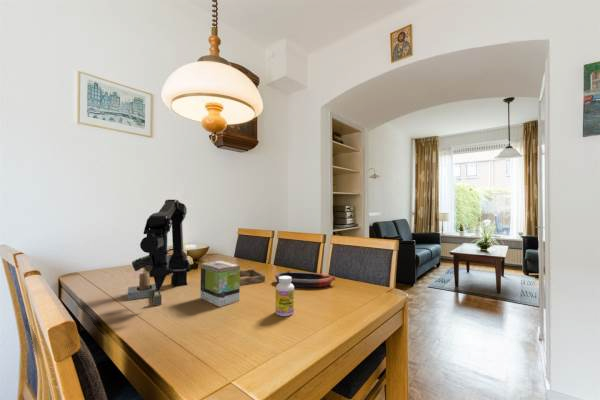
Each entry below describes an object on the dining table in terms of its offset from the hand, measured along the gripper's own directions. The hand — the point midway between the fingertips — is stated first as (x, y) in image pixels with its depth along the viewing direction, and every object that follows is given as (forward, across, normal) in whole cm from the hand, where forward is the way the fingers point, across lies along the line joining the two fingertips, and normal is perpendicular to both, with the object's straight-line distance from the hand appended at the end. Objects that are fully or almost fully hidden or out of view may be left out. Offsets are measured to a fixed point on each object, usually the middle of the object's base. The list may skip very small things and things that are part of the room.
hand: (158, 290), depth 101 cm
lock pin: (+7, -10, 0) cm, 12 cm away
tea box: (+7, +1, +23) cm, 24 cm away
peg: (+7, -21, -4) cm, 22 cm away
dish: (+8, -1, +65) cm, 65 cm away
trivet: (+7, -23, +40) cm, 47 cm away
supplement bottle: (+7, +27, +40) cm, 49 cm away
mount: (+7, -21, -4) cm, 22 cm away
